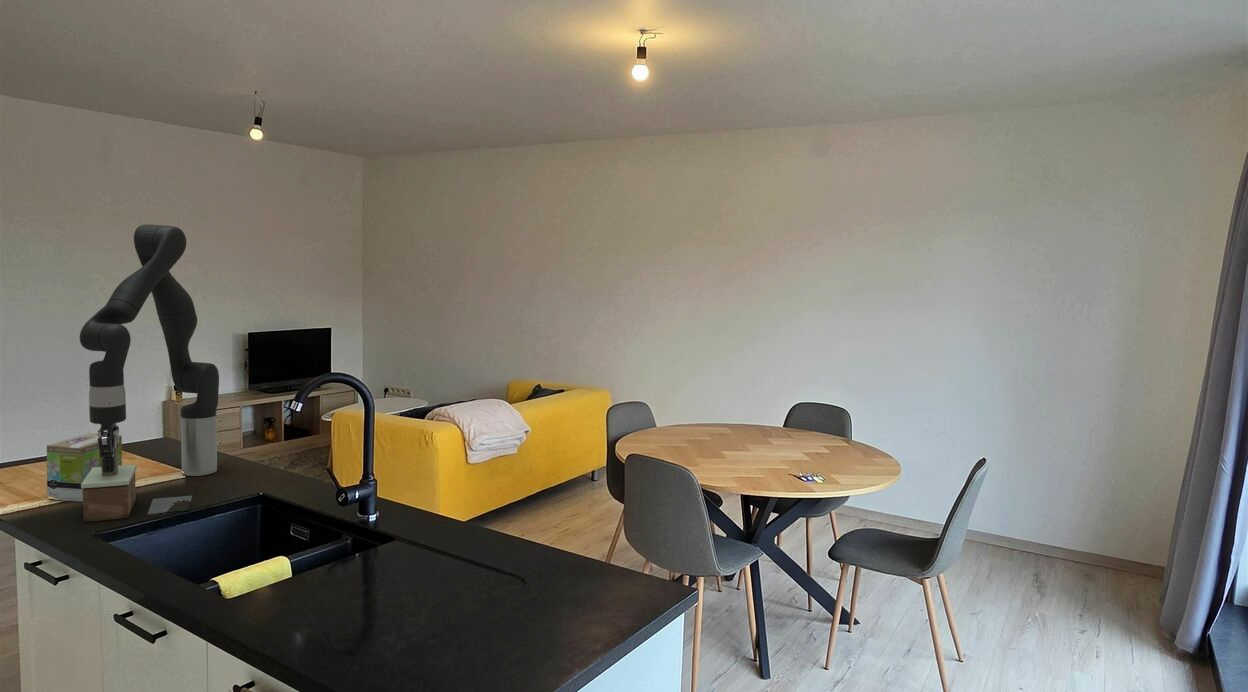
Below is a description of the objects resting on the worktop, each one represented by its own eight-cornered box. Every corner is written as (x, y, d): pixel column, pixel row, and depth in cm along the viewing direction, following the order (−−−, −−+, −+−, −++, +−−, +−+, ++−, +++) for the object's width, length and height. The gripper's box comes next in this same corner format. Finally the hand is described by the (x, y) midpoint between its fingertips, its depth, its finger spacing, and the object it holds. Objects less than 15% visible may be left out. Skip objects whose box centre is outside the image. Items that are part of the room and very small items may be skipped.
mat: (153, 500, 198) (153, 498, 198) (192, 496, 202) (192, 495, 202) (147, 514, 188) (147, 513, 188) (188, 510, 192) (188, 509, 192)
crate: (94, 503, 193) (93, 473, 192) (135, 500, 197) (134, 470, 196) (83, 521, 181) (82, 490, 180) (128, 517, 185) (127, 486, 184)
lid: (92, 475, 193) (91, 444, 192) (136, 471, 197) (135, 442, 196) (81, 492, 180) (80, 460, 179) (128, 488, 184) (127, 457, 183)
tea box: (84, 502, 194) (82, 447, 192) (46, 500, 194) (43, 445, 192) (124, 485, 209) (122, 433, 207) (88, 483, 209) (86, 431, 207)
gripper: (121, 407, 181) (123, 476, 183) (129, 396, 194) (131, 461, 196) (83, 409, 178) (86, 479, 180) (94, 397, 190) (97, 463, 192)
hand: (109, 469), depth 188 cm, fingers closed on lid, 3 cm apart
